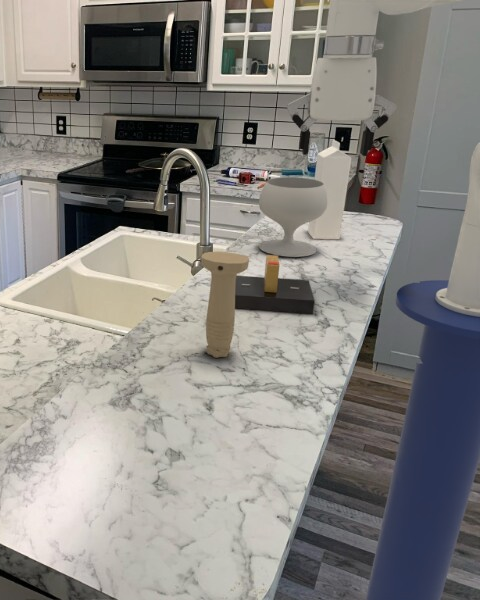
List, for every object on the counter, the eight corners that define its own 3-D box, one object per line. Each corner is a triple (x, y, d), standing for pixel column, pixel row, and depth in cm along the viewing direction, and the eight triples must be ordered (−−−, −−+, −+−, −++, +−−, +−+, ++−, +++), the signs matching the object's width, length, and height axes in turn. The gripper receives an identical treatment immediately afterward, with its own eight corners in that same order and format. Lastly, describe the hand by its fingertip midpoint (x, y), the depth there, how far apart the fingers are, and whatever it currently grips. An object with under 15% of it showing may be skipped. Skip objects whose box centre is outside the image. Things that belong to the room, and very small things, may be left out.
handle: (201, 343, 94) (206, 249, 88) (243, 351, 91) (252, 255, 85) (192, 356, 90) (197, 259, 84) (235, 365, 87) (244, 265, 81)
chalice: (252, 239, 143) (258, 175, 138) (314, 241, 141) (323, 176, 135) (257, 258, 131) (264, 188, 125) (326, 261, 128) (336, 190, 123)
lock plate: (307, 292, 112) (309, 279, 111) (312, 314, 103) (314, 299, 102) (229, 287, 115) (230, 274, 114) (227, 307, 106) (228, 293, 105)
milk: (333, 232, 148) (347, 139, 139) (339, 239, 142) (354, 143, 134) (307, 232, 148) (319, 139, 140) (312, 239, 143) (325, 142, 135)
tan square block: (263, 281, 111) (266, 253, 109) (275, 281, 110) (278, 254, 108) (264, 291, 106) (267, 263, 104) (276, 292, 105) (279, 264, 103)
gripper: (400, 47, 102) (383, 152, 108) (291, 49, 106) (281, 150, 112) (411, 47, 95) (392, 159, 101) (294, 49, 99) (283, 156, 105)
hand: (333, 154), depth 107 cm, fingers open, 9 cm apart
